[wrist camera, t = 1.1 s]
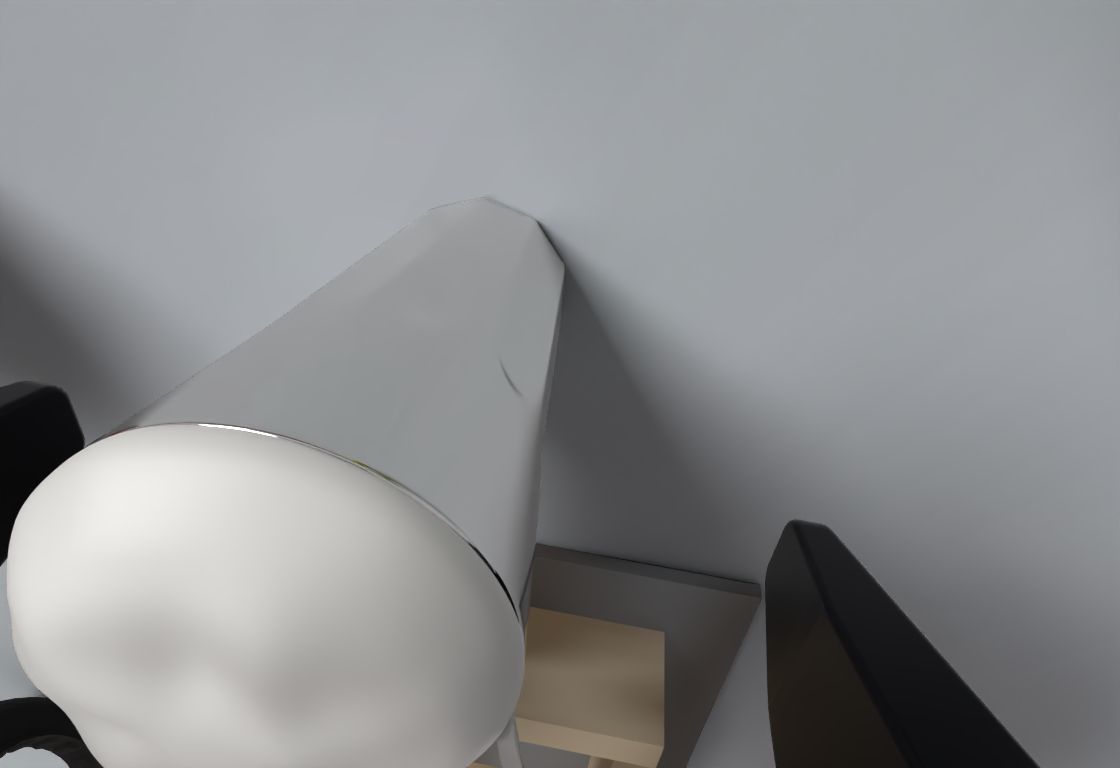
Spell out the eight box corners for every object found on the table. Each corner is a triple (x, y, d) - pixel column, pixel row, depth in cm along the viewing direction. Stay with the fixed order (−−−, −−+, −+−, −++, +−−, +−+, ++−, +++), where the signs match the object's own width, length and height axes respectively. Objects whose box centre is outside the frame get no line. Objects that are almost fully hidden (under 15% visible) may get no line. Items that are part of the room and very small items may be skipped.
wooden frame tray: (759, 585, 16) (779, 717, 13) (652, 827, 24) (651, 943, 21) (227, 486, 17) (138, 591, 14) (292, 752, 24) (244, 854, 22)
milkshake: (584, 421, 14) (466, 1084, 6) (352, 327, 13) (-151, 902, 5) (682, 240, 11) (727, 954, 3) (401, 116, 11) (-423, 573, 3)
